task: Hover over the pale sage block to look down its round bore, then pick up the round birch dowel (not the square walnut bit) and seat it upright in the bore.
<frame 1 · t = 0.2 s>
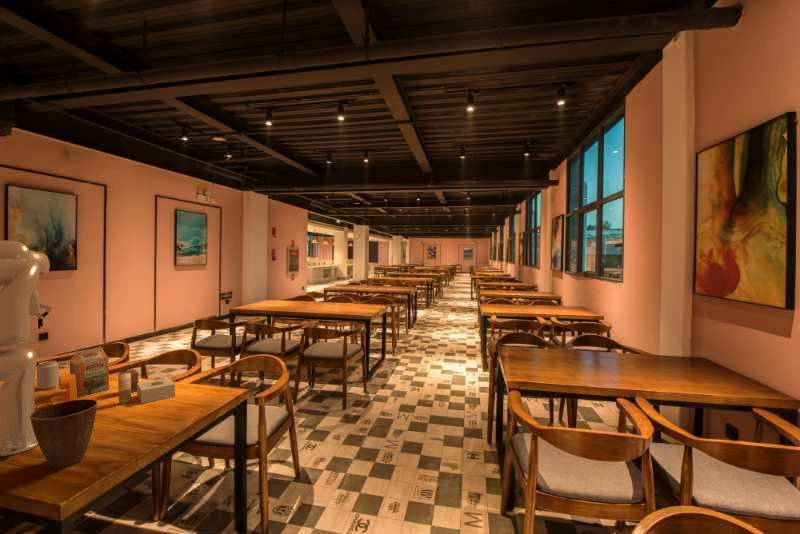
hand: (23, 329, 155), 31 cm above the table, tool pointing down, fingers open, 9 cm apart
plant pot: (66, 462, 114), on the table
milk carton: (90, 391, 172), on the table
can: (48, 388, 177), on the table
walnut square bit: (129, 392, 171), on the table
bore block: (156, 396, 166), on the table
bracket: (63, 405, 157), on the table
birch dowel: (125, 402, 159), on the table
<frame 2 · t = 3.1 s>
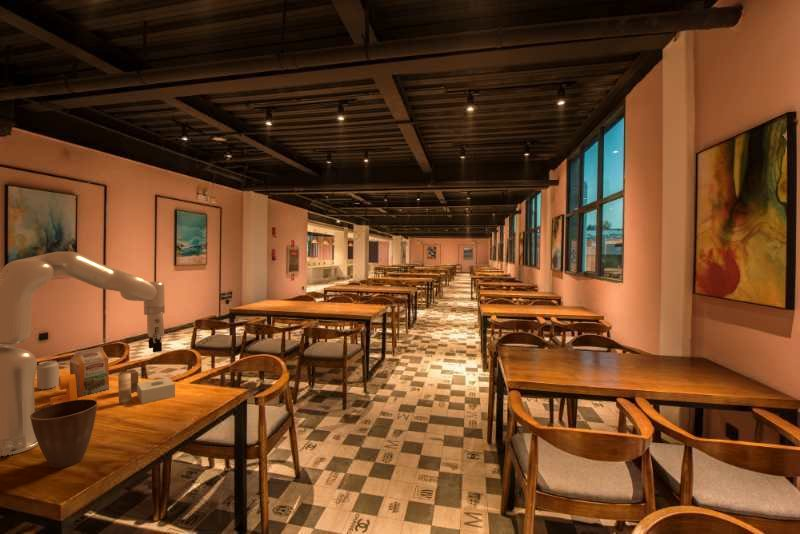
hand: (155, 349, 166), 20 cm above the table, tool pointing down, fingers open, 9 cm apart
nothing on the table moved.
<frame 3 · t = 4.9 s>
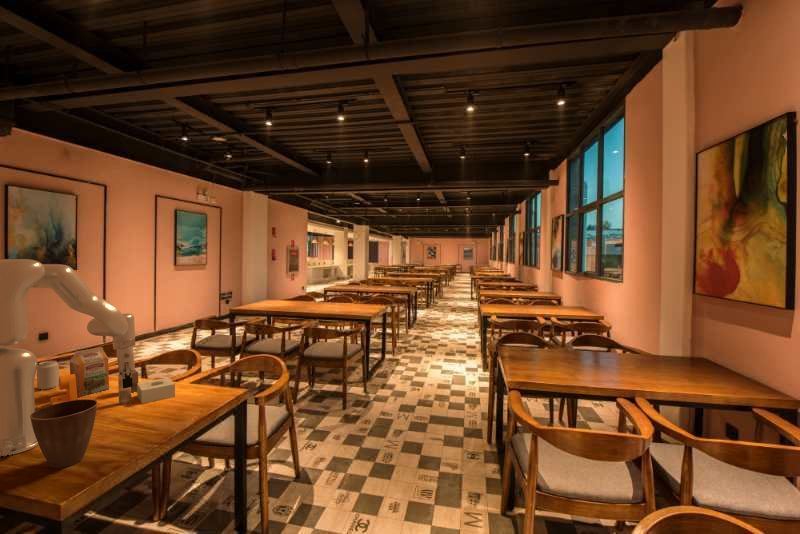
hand: (126, 384, 159), 7 cm above the table, tool pointing down, fingers open, 9 cm apart
nothing on the table moved.
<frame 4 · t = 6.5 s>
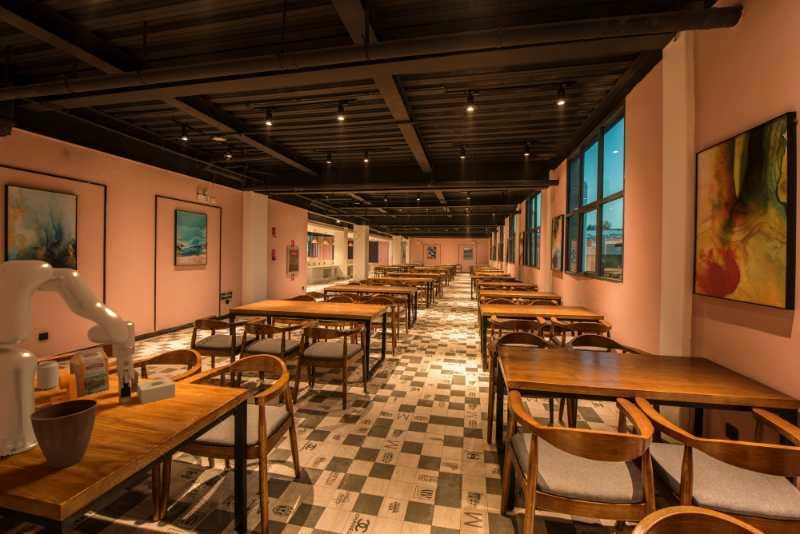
hand: (125, 394, 159), 3 cm above the table, tool pointing down, fingers closed on birch dowel, 4 cm apart
birch dowel: (125, 402, 159), on the table, touching gripper
everything else where it was.
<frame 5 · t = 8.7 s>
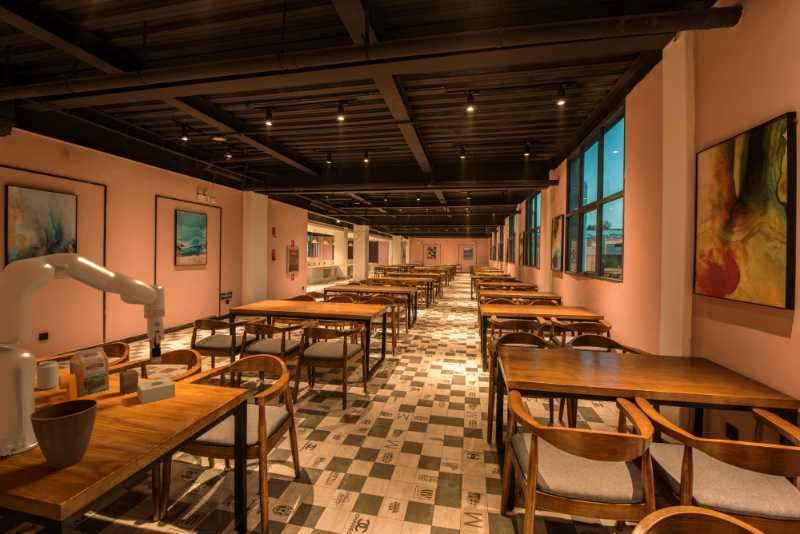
hand: (155, 355, 166), 18 cm above the table, tool pointing down, fingers closed on birch dowel, 4 cm apart
birch dowel: (155, 363, 166), point 15 cm above the table, touching gripper
everything else where it was.
when the fingers open (7 cm above the table, at t = 11.3 s): birch dowel drops 3 cm, resting in bore block.
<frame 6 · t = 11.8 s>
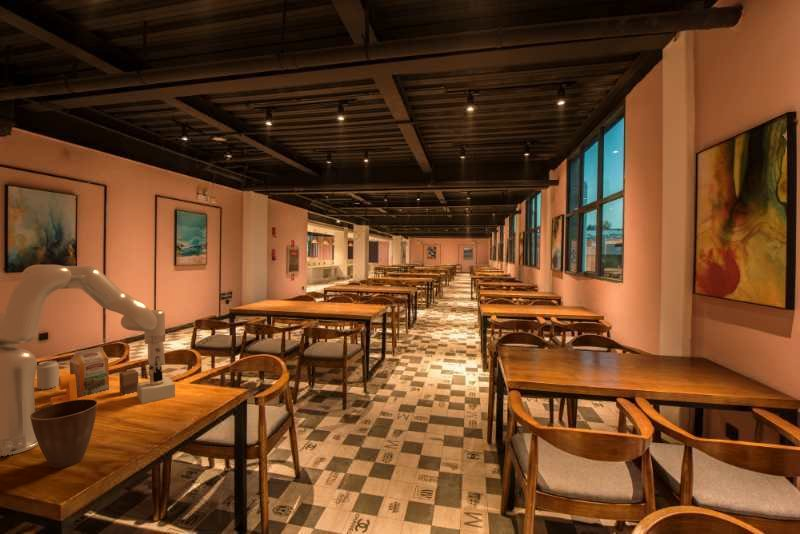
hand: (155, 378, 166), 8 cm above the table, tool pointing down, fingers open, 9 cm apart
birch dowel: (156, 396, 166), resting in bore block
everything else where it was.
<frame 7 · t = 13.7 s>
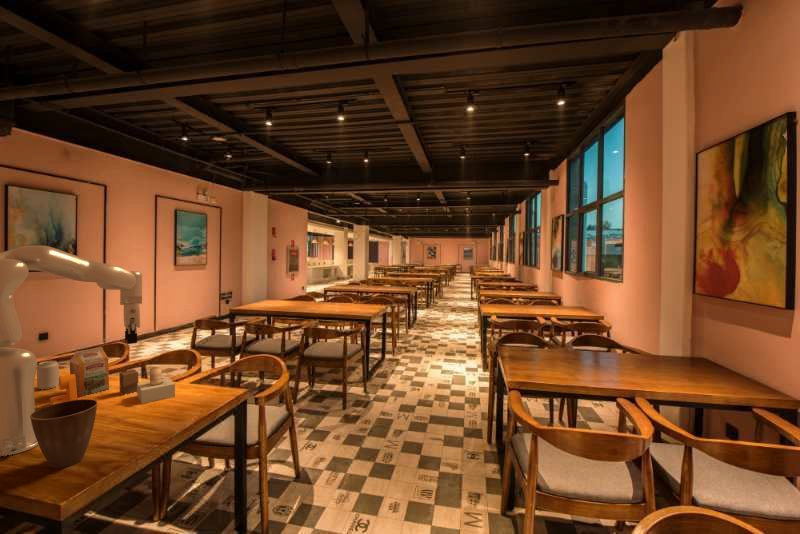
hand: (130, 341, 160), 25 cm above the table, tool pointing down, fingers open, 9 cm apart
nothing on the table moved.
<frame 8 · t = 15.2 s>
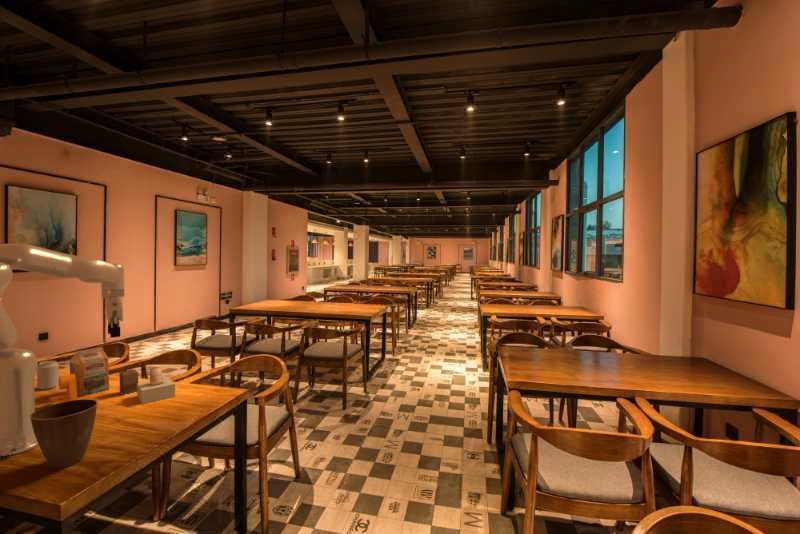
hand: (114, 335, 158), 28 cm above the table, tool pointing down, fingers open, 9 cm apart
nothing on the table moved.
at the end: birch dowel 0.1 cm off-centre on the bore block, point 0.0 cm above the bore block's base; birch dowel tilted 0°; the gripper is holding nothing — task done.
